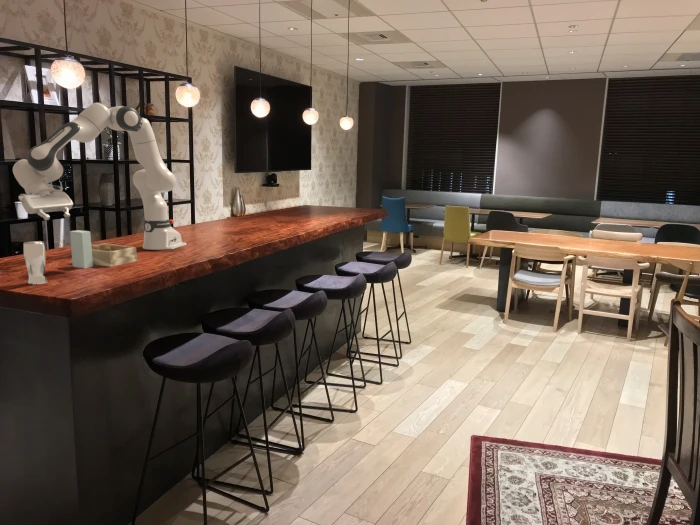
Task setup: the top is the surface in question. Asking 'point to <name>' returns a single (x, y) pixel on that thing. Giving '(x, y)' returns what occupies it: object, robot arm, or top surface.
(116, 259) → the tray
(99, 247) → the offcut short
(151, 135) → the robot arm
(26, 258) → the beer glass
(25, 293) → the top surface
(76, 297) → the top surface
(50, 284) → the top surface
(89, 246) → the pale green block
